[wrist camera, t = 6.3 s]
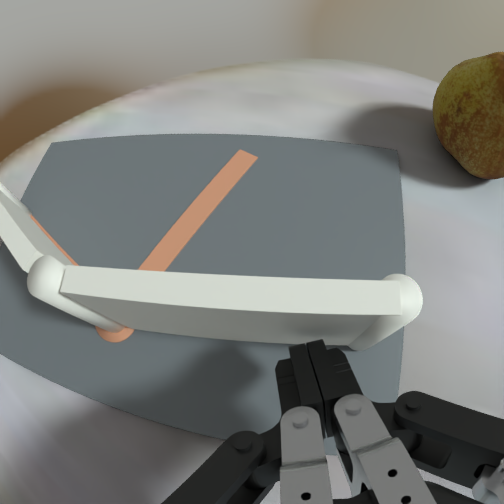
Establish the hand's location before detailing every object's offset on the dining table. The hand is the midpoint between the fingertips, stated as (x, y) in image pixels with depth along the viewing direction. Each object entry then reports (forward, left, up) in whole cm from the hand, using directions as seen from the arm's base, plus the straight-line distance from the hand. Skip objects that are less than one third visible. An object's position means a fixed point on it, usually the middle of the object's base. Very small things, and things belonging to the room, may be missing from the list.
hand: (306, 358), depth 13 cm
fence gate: (-3, +1, -3) cm, 5 cm away
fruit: (+12, +18, -4) cm, 22 cm away
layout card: (-10, +5, -4) cm, 12 cm away
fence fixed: (-18, +4, -4) cm, 19 cm away
